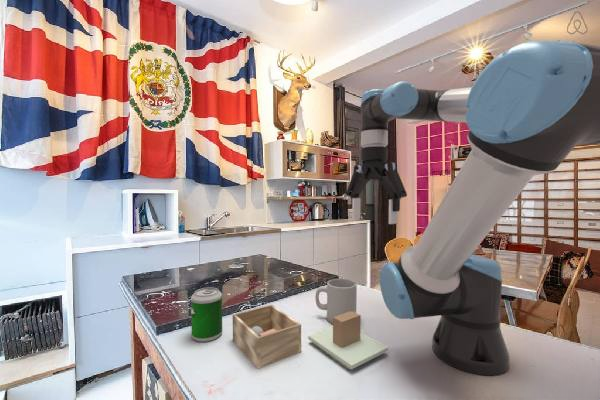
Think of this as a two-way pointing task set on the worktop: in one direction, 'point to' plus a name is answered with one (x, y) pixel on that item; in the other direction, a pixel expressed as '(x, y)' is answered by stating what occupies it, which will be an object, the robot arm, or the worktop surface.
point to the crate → (266, 335)
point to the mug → (338, 297)
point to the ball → (257, 330)
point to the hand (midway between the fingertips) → (373, 221)
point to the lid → (348, 341)
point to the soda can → (206, 314)
